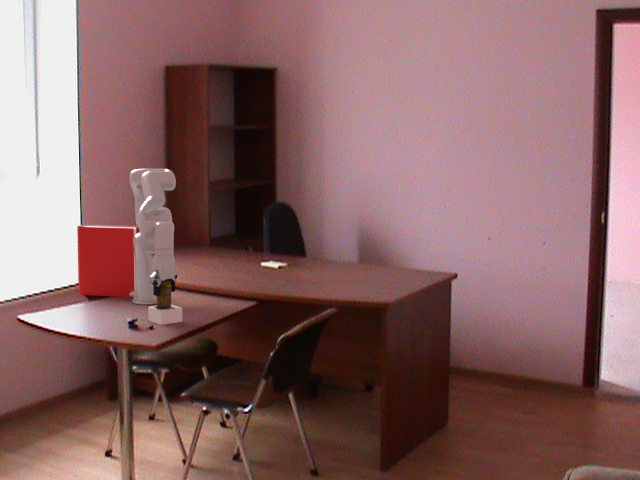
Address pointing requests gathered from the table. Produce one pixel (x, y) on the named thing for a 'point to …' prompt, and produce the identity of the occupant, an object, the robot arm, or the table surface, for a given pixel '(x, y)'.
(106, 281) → the book
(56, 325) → the table surface
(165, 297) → the condiment
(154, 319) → the cream block
